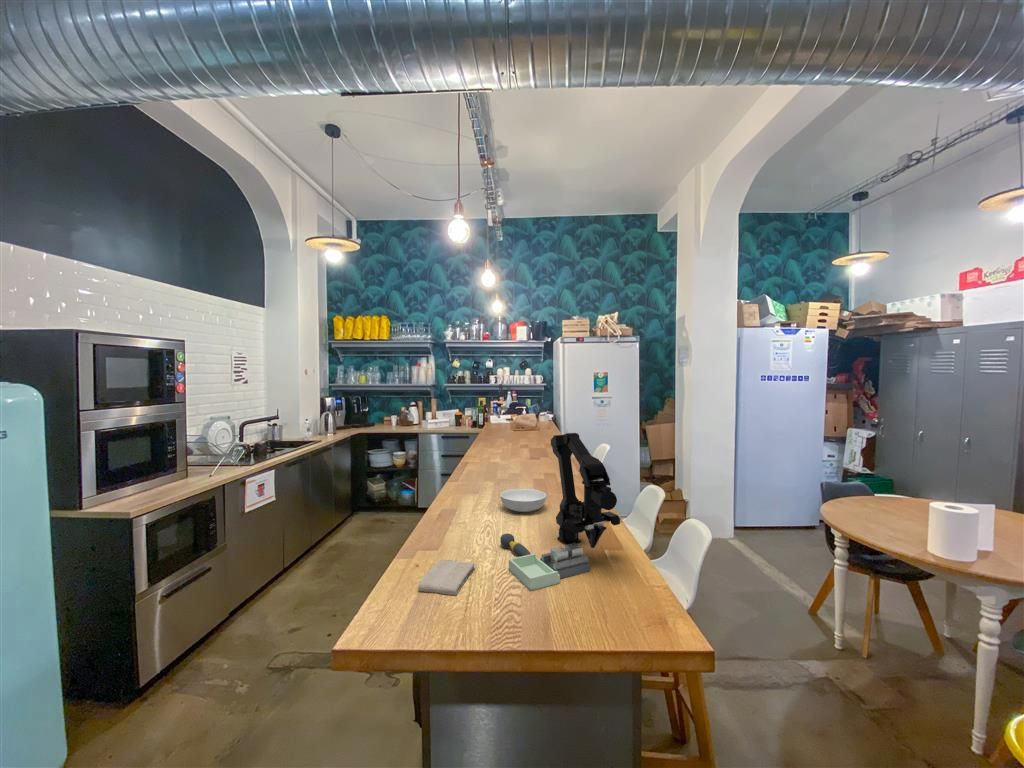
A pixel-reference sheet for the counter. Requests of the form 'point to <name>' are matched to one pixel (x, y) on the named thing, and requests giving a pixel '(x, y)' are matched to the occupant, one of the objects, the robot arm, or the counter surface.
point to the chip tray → (533, 572)
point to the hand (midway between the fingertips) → (592, 547)
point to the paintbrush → (513, 545)
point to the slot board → (567, 565)
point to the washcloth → (446, 577)
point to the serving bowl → (523, 499)
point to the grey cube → (574, 551)
